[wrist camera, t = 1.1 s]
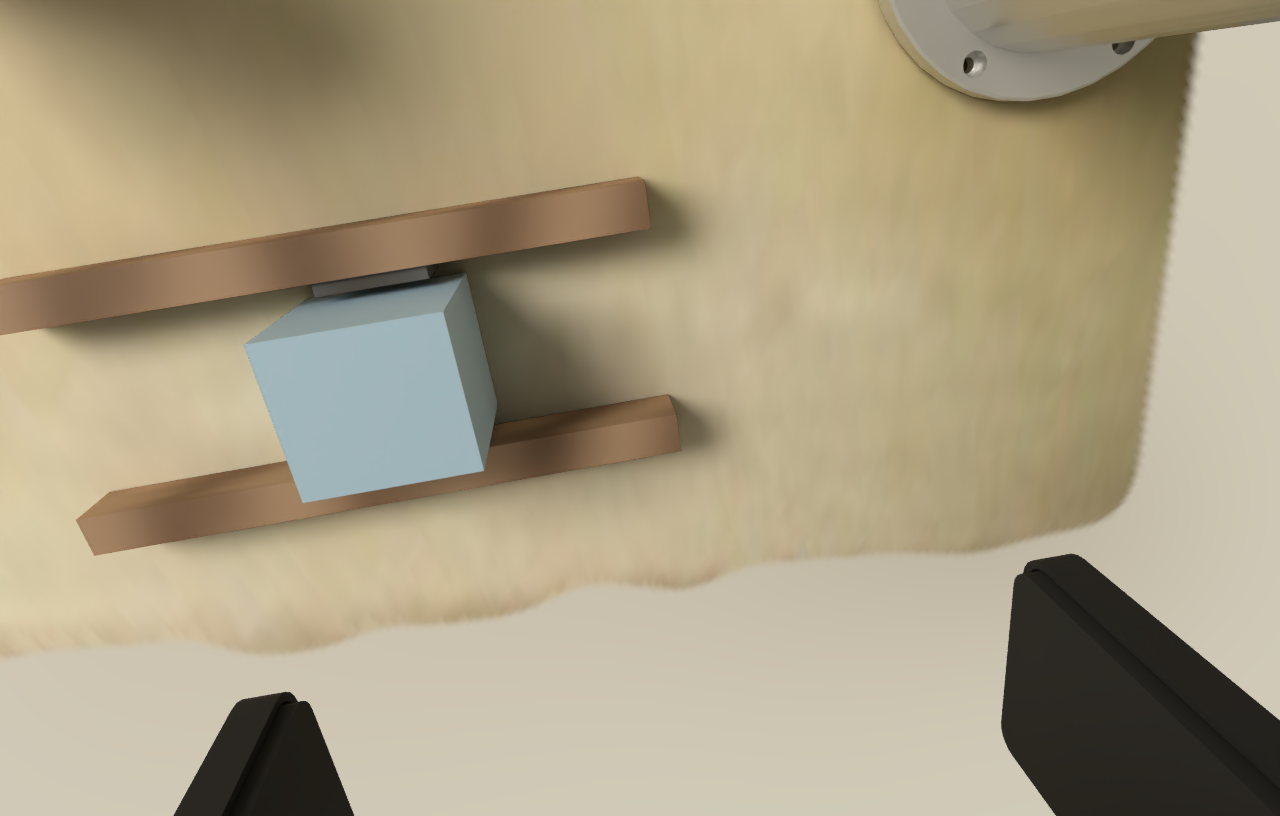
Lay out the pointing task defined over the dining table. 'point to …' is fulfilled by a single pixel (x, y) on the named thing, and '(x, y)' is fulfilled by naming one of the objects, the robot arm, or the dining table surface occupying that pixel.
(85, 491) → the dining table surface
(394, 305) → the block
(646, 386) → the dining table surface
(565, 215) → the chute
